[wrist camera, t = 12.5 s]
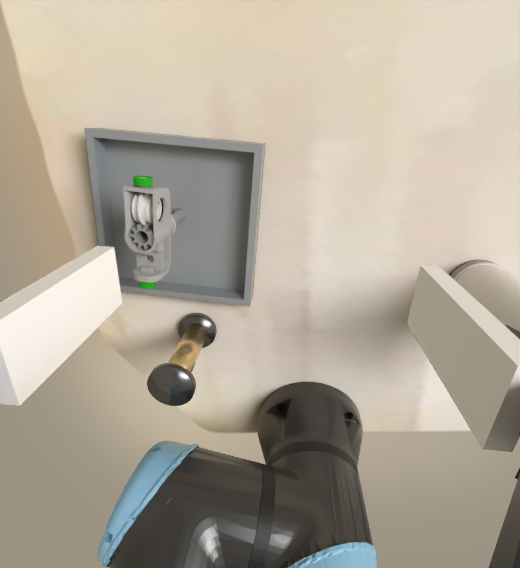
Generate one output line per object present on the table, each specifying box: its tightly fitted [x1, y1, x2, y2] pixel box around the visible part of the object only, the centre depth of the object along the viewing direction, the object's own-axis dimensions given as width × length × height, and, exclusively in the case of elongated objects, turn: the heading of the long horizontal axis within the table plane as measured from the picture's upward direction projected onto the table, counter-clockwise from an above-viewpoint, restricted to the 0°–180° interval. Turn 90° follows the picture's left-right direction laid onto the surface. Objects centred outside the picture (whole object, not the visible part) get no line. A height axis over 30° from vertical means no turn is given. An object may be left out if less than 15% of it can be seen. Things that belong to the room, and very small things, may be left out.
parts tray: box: [85, 128, 265, 306], centre depth 39 cm, size 18×18×3 cm
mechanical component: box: [123, 175, 186, 289], centre depth 35 cm, size 3×10×10 cm, turn 174°
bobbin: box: [147, 313, 216, 406], centre depth 41 cm, size 5×5×12 cm
